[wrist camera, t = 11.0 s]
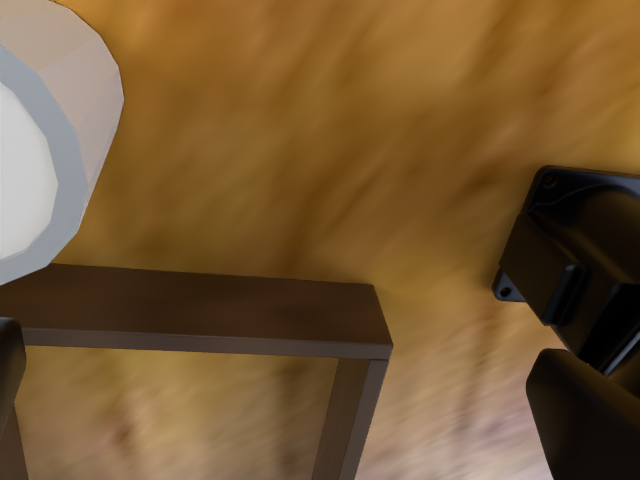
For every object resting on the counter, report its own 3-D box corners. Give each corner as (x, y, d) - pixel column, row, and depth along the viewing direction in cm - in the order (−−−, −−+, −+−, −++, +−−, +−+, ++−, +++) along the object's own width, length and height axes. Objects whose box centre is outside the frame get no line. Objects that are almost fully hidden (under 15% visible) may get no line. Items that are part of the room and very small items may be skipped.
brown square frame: (373, 284, 23) (394, 345, 20) (320, 498, 31) (328, 569, 27) (-36, 256, 20) (-95, 322, 17) (17, 500, 28) (-16, 580, 24)
